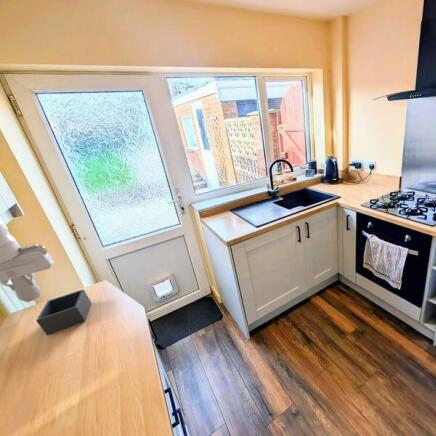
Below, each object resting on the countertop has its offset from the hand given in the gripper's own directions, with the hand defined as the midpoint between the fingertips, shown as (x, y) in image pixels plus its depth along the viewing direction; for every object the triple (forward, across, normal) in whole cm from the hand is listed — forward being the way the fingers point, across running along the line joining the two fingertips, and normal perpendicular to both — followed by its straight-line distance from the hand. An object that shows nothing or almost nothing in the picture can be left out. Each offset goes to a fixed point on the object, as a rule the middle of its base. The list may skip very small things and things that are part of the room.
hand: (24, 286), depth 85 cm
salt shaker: (+5, 0, 0) cm, 5 cm away
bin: (+25, -1, -11) cm, 27 cm away
